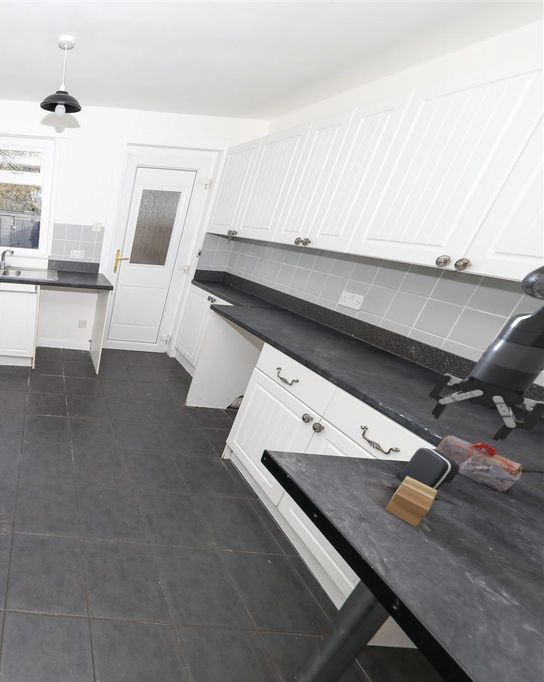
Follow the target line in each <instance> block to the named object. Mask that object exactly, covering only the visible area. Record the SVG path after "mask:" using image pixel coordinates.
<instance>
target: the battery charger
mask: <svg viewBox="0 0 544 682" xmlns="http://www.w3.org/2000/svg"><path fill="white" fill-rule="evenodd" d="M458 473H459V465H458V464H457V463H456V462H455V461H453V460H452V459H450V458H449V457H448V456H446V455H445V454H443V453H441V452H440V451H438V450H435V448H430V447H420V448H418V449H417V450H416V451H415V453H413V455H412V456H411V457H410V459H409V461H408V463H407V464H406V466H405V467H404V469H403V470H402V472H401V474H400V475H399V476H398V477H399V478H400V479H401V480H402V481H404V479H405V478H406V477H407V476H408V477H410V478H412V479H414V480H417V481H419V482H421V483H423V484H425V485H427V486H429V487H431V488H433V489H435V490H437V491H438V489H439V488H440V487H442V486H443V485H444V484H445V483H446V484H451V483H452V482H453V481H454V479H455V478H456V476H457V475H458Z"/></svg>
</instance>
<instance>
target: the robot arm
mask: <svg viewBox="0 0 544 682" xmlns="http://www.w3.org/2000/svg"><path fill="white" fill-rule="evenodd" d="M520 289H521V291H522V293H524V294H525V295H527V296H529V298H532V299H536V300H541V301H544V265H541V266H539V267H537V268H535V269H533V270H532V271H530V272H528V274H526V275H525V276H524V277H523V279H522V280H521V283H520ZM543 371H544V304H543V305H542V306H540V307H538V309H536V310H535V311H520V312H516V313H514V314H512V316H511V317H510V318H509V319H508V320H507V322H506V323H505V325H504V326H503V327H502V329H501V331H500V332H499V333H498V335H497V337H495V339H494V340H493V341H492V342H491V343H490V344H489V345H488V346H487V347H486V349H485V350H484V352H483V353H482V355H481V356H480V358H479V359H478V361H477V362H476V364H475V366H474V367H473V368H472V370H471V371H470V372H469V374H468V376H467V377H465V378H459V377H456V376H455V375H452V373H448V372H447V373H445V374H444V375H442V377H441V378H440V379H439V381H438V382H437V383H436V385H435V386H434V387H433V388H432V390H431V391H430V392H429V394H428V397H430V398H431V399H433V400H435V401H436V402H437V403H436V405H435V406H434V408H433V409H432V411H431V415H433V418H434V419H436V420H438V419H439V418H440V417H441V415H442V414H443V412H444V411H445V409H446V408H447V407H448V405H449V404H451V403H454V402H460V401H463V400H466V401H467V402H468V403H470V404H473V405H478V406H482V407H483V408H486V409H489V410H490V411H492V410H498V412H499V414H500V416H501V417H502V420H503V422H502V423H501V425H500V426H499V427H498V428H497V430H495V432H494V434H493V435H492V437H491V440H494V441H496V442H498V440H500V441H504V440H506V439H507V438H508V436H509V435H510V434H511V433H512V432H513V430H514V429H524V430H525V431H531V430H533V429H534V428H535V426H536V425H537V423H538V422H539V420H540V419H541V418H542V415H543V414H544V400H535V399H531V398H527V397H525V394H526V393H527V391H528V390H529V389H530V388H531V386H532V385H533V383H534V382H535V381H536V380H537V378H538V377H539V376H540V374H541V373H542V372H543ZM455 384H458V385H459V387H460V390H459V391H457V392H453V393H451V394H447V395H443V394H441V392H442V391H443V390H444V389H445V387H446V386H453V385H455ZM520 404H524V405H525V409H526V410H527V411H529V412H528V413H527V416H526V417H525V418H524V419H523V420H518V419H516V417H515V415H514V413H513V411H512V408H511V407H514V406H517V405H520Z"/></svg>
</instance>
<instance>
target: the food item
mask: <svg viewBox="0 0 544 682" xmlns="http://www.w3.org/2000/svg"><path fill="white" fill-rule="evenodd" d="M434 449H435V450H438V451H440V452H441V453H443V454H445V455H446V456H448V457H449V458H450V459H452V460H453V461H455V462H456V463H457V464H458V465H459V472H458V473H459V474H461V475H463V476H465V477H467V478H469V479H471V480H473V481H475V482H477V483H479V484H483V485H485V486H487V487H489V488H491V489H493V490H496V491H498V492H506V491H507V490H508V489H509V488H512V486H513V485H514V484H515V483H516V482H517V480H520V477H521V475H522V472H523V471H522V469H523V465H522V464H521V463H519V462H515V461H514V460H511V459H508V458H507V457H504V456H502V455H499V454H497V453H498V451H497V449H496V448H493V447H491V446H490V445H489V444H486V443H483V442H479V441H477V442H475V443H471V442H469V441H467V440H463V439H461V438H460V437H459V438H458V437H457V436H454V435H448V434H447V435H444V436H443V438H442V440H441V441H440V443H439V444H438V445H437V447H435V448H434Z"/></svg>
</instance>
